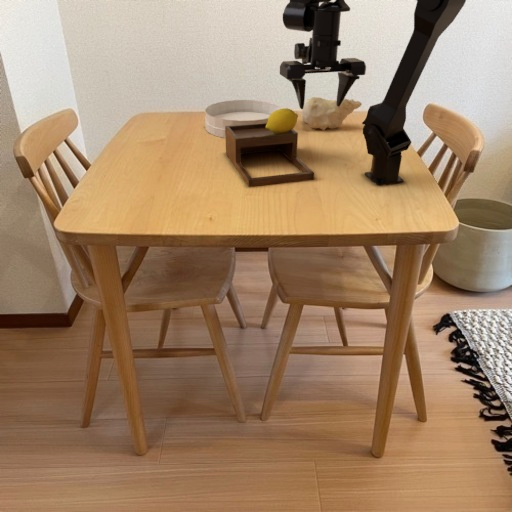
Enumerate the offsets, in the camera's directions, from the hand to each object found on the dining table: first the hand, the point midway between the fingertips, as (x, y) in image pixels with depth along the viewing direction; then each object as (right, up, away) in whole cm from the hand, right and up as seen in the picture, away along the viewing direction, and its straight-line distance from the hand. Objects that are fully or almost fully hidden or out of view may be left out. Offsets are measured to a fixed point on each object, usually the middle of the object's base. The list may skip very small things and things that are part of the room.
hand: (320, 107), depth 111 cm
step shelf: (-12, -13, +1) cm, 18 cm away
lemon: (-13, -5, +1) cm, 14 cm away
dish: (-18, +2, +27) cm, 32 cm away
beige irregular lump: (+6, +3, +27) cm, 28 cm away
